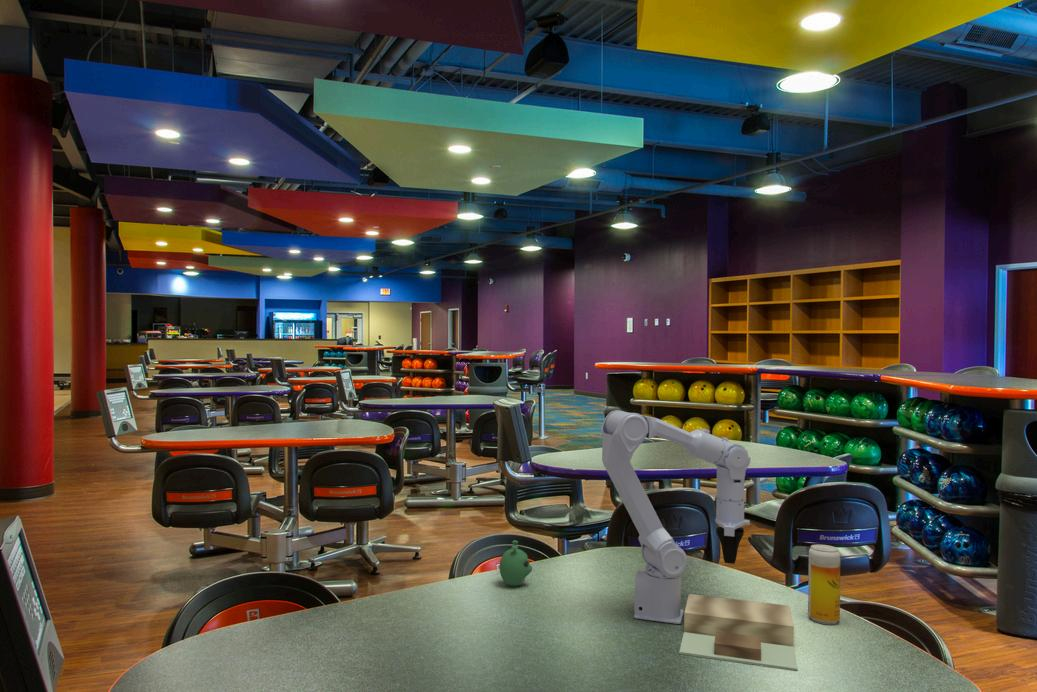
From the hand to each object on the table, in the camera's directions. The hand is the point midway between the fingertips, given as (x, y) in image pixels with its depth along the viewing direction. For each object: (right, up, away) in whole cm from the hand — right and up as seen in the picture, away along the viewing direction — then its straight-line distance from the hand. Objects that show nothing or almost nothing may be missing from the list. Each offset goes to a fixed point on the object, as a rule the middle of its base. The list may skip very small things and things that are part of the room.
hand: (729, 562), depth 151 cm
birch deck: (-1, -10, -10) cm, 15 cm away
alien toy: (-46, -10, +15) cm, 49 cm away
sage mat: (-5, -10, -21) cm, 24 cm away
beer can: (+18, -11, -4) cm, 22 cm away
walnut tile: (-5, -7, -22) cm, 24 cm away
